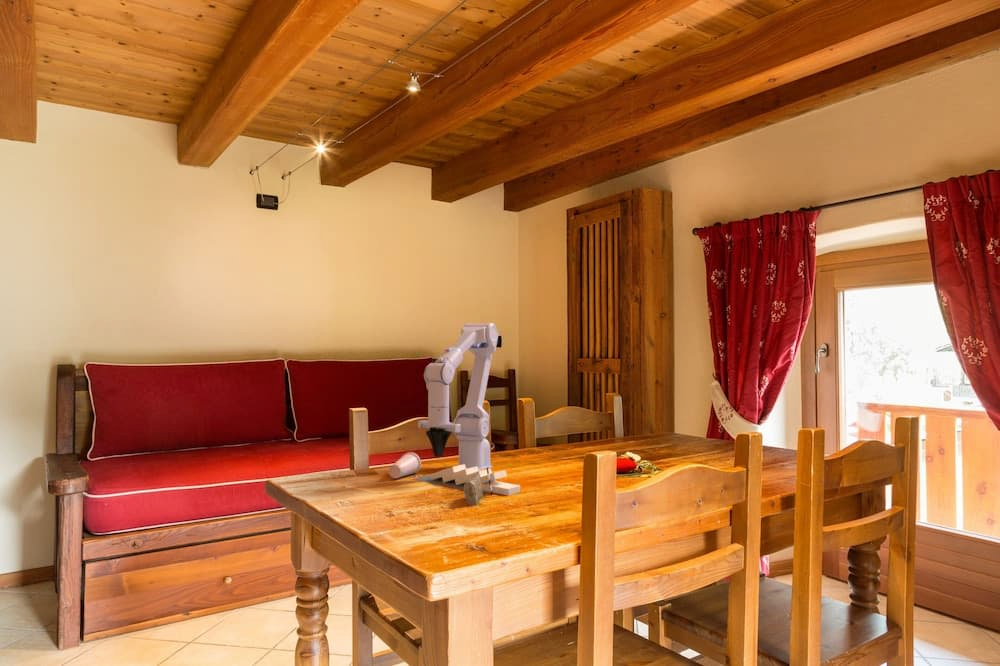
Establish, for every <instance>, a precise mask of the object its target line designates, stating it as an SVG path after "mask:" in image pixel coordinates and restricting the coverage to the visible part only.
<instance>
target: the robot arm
mask: <svg viewBox="0 0 1000 666" xmlns="http://www.w3.org/2000/svg"><path fill="white" fill-rule="evenodd" d="M498 338H499V332H498V328H497V326H496V325H495V323H493V322H489V323H468V322H466V323H464V325H463V326H462V328H461V330H460V336H459V338H458V339H457V341H456V342H455V344H454V345H453V346H448V347H446V348H445V349H444V351H443V353H442V354H441V355H439V357H438V358H437V359H436V360H435V361H434V362H430V363H429V364H428V365H426V367H425V368H424V373H423V379H424V381H425V384H426V387H425V388H426V390H427V391H428V393H427V394H428V397H427V399H428V400H427V401H428V402H427V403H428V405H427V409H428V411H427V412H428V413H427V415H428V419H427V420H424V419H423V420H418V421H417V428H418V429H428V430H426V431H425V434H426V436H427V438H428V440H429V442H430V445H431V448H432V452H433V457H436V458H441V457H444V453H445V449H446V445H447V442H448V440H449V438H450V436H451V435H452V433H453V434H454V436H455V437H456V440H458V465H463V464H465V466H466V469H467V468H472V467H476V466H478V470H479V471H481V470H485V469H486V468H487V467H488V469H489V468H491V469H492V468H493V466H492V465H491V445H490V441H489V440H488V439H487V438H486V437H487V436H488V435H489V433H490V415H489V413H488V412H487V411H486V410H485V409H484V408H483V407H484V402H485V397H486V392H487V387H488V380H489V375H490V371H491V370H490V369H491V364H492V358H493V354H494V353H495V352H496V350H497V345H498ZM467 351H469V352H470V353H472V354H473V355H474V359H473V360H474V361H473V365H472V370H471V375H470V381H469V387H468V392H467V395H466V401H465V404H464V406H462V407H461V408H460V409H458V410H457V412H456V417H455V418H454V420H453V421H452V422H451V421H450V384H451V383H452V382H453V380H454V376H455V374H456V369H457V368H458V367H459V366H460V364H461V363H462V362H463V360H464V354H465V353H466V352H467Z"/></svg>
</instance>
